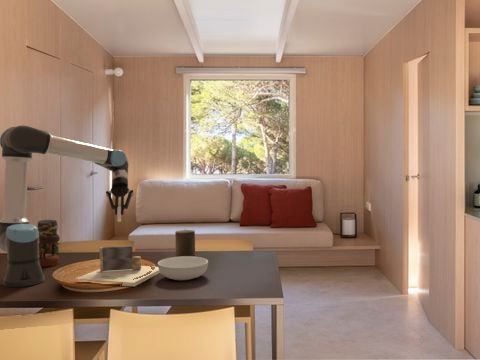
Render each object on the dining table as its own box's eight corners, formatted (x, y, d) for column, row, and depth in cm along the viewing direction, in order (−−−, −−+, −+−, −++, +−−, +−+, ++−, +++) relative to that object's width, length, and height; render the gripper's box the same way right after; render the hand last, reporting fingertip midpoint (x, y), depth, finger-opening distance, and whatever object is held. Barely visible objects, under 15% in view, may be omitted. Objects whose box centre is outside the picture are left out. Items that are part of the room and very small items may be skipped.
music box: (45, 268, 210) (44, 225, 209) (27, 267, 214) (26, 224, 213) (69, 261, 224) (67, 221, 223) (52, 260, 228) (50, 220, 227)
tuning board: (134, 286, 177) (134, 282, 177) (75, 282, 185) (75, 278, 185) (164, 270, 202) (164, 266, 202) (111, 267, 210) (111, 263, 210)
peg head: (141, 267, 200) (140, 244, 200) (141, 269, 196) (140, 246, 196) (101, 270, 197) (100, 246, 197) (99, 272, 193) (99, 248, 193)
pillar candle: (190, 261, 220) (189, 230, 219) (172, 259, 223) (171, 229, 222) (198, 257, 229) (198, 227, 228) (181, 256, 232) (180, 226, 232)
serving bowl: (161, 286, 176) (160, 269, 176) (155, 274, 196) (155, 258, 196) (213, 281, 182) (213, 264, 182) (202, 269, 202) (202, 254, 202)
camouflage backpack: (61, 252, 246) (59, 218, 245) (52, 256, 238) (51, 220, 238) (44, 252, 248) (43, 218, 247) (36, 255, 240) (34, 220, 239)
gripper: (134, 185, 225) (134, 224, 210) (107, 187, 223) (105, 225, 207) (133, 175, 220) (133, 214, 204) (105, 176, 217) (103, 215, 202)
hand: (119, 219), depth 206 cm, fingers closed
